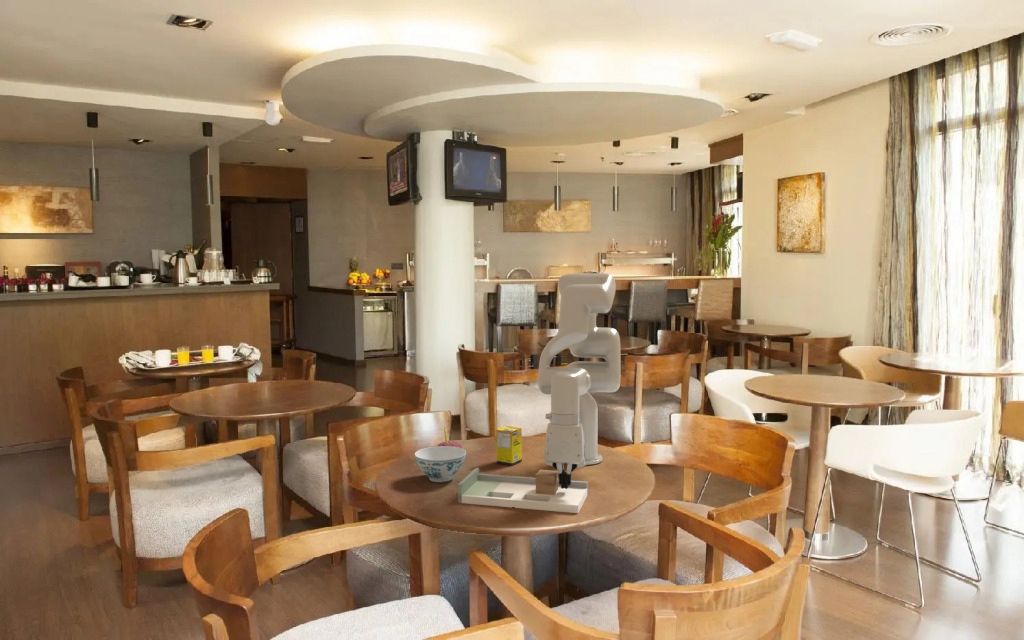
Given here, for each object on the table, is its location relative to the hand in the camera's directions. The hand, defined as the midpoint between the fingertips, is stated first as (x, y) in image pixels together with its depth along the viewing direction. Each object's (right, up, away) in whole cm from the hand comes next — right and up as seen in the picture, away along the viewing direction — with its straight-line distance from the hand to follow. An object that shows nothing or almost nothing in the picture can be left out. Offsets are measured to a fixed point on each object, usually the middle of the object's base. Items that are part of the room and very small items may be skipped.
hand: (565, 487), depth 186 cm
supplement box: (-15, -1, +36) cm, 39 cm away
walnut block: (-5, -1, +1) cm, 5 cm away
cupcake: (-34, -1, +35) cm, 49 cm away
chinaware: (-35, -2, +20) cm, 40 cm away
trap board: (-11, -3, +2) cm, 12 cm away
